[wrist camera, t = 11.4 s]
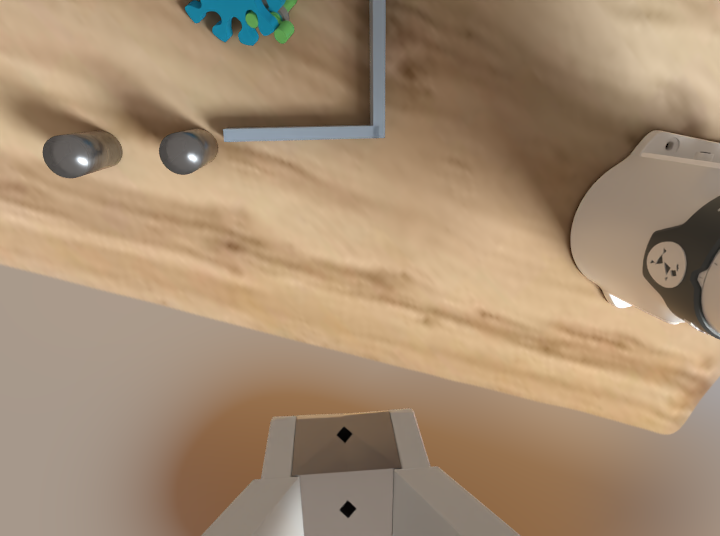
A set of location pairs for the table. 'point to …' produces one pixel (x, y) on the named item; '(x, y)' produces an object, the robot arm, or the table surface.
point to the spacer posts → (104, 151)
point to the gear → (246, 18)
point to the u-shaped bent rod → (344, 131)
